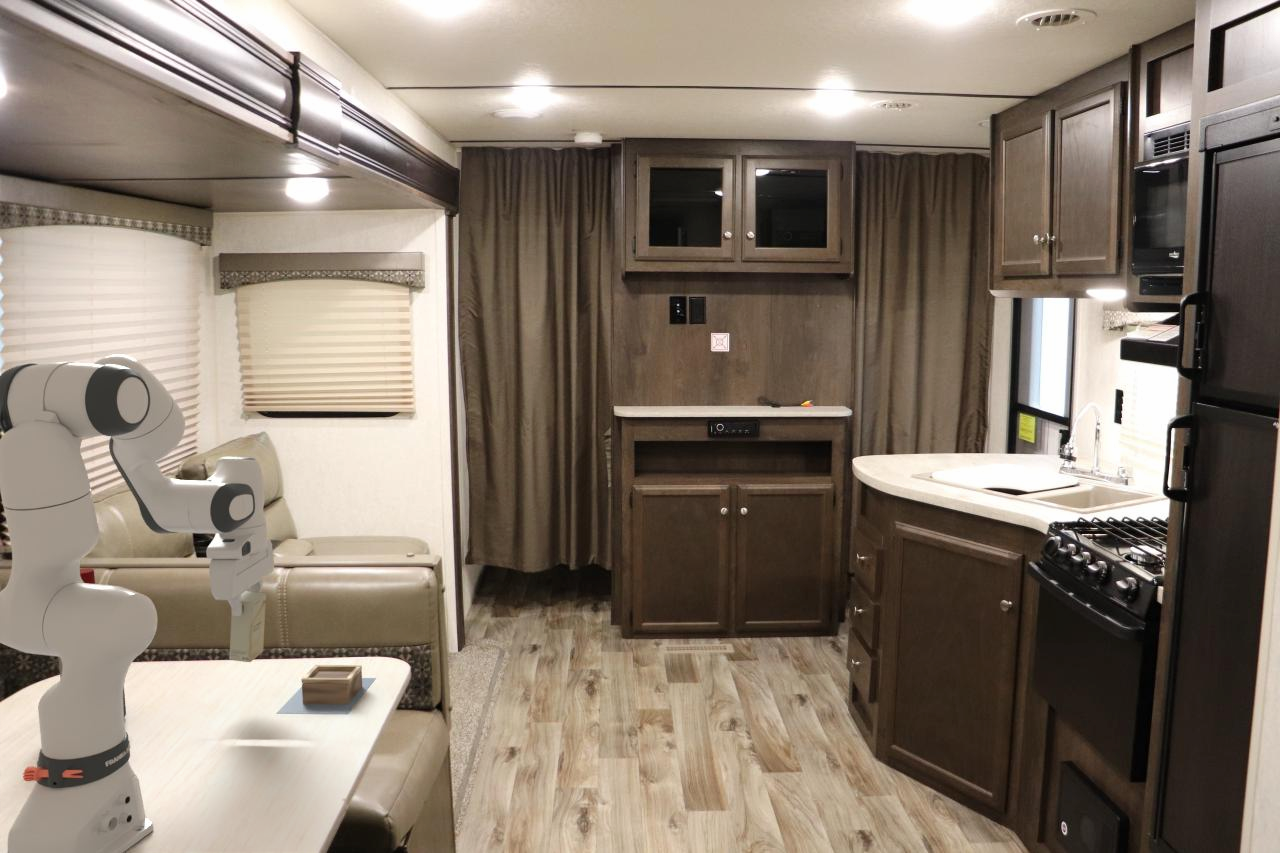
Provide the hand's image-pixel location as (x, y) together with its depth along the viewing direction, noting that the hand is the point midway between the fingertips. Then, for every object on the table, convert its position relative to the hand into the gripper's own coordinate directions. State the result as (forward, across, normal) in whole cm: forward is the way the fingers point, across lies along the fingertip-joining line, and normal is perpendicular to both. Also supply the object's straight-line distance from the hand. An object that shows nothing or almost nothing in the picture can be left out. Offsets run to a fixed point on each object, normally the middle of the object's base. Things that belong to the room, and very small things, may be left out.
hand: (246, 608), depth 194 cm
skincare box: (+10, 0, -1) cm, 10 cm away
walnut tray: (+20, -6, +14) cm, 25 cm away
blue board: (+21, -6, +13) cm, 25 cm away
